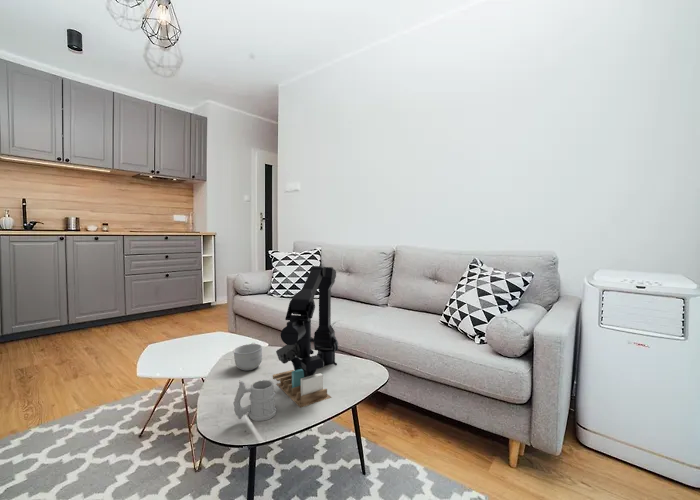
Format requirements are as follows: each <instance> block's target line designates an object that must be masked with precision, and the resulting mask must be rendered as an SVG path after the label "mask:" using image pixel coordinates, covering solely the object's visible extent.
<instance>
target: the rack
mask: <svg viewBox="0 0 700 500" xmlns="http://www.w3.org/2000/svg"><path fill="white" fill-rule="evenodd" d="M276 386H278V388H280V389H281V390H282V392H284V393H285V394H286V395H287V396H288V398H290V399H291V401H293V402H294V403H295V404H296V405H297V406H298V407H299V408H301V409H302V408H303V407H307V406H310V405H313V404H317V403H319V402H322V401H325V400H328V399H332V398H333V397H332V396H331V395H330V394H328V388H323V390H319V391H316V392H313V393H310V394H306V395H303V396H301V386H297V387H294V388H292V375H289V376H285V377H281V378H280V380H279V382H278V383H276Z"/></svg>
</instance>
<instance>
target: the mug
mask: <svg viewBox="0 0 700 500" xmlns="http://www.w3.org/2000/svg"><path fill="white" fill-rule="evenodd" d="M238 383H239V385H238V387H237V391H236V394H235V397H234V400H233V402H232V403H233V409H234V410H233V411H234V415H235V416H237V418H238V419H239V420H241V419H242V418H243V417H244V416H245V415H247V413H248V417H249V419H251V421H255V422H263V421H267V420H270V419H272V418H274V416H276V414H277V408H276V405H275V404H276V402H275V397H276V391H275V388H274V387H275V385H274V382H273V381H272V380H270V379H269V380H268V379H263V380H262V379H261V380H257V381H255V382H253V383H252V384H250V386H249V387H246V384H245V382H244V381H243V380H241V379H240V380H239V381H238ZM247 393H249V397H248V398H249V400H250V404H248V405H246V406H245V407H243V406H242V405H241V400H242V398H243V396H244V395H245V394H247Z"/></svg>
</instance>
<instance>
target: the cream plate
mask: <svg viewBox="0 0 700 500" xmlns="http://www.w3.org/2000/svg"><path fill="white" fill-rule="evenodd" d="M323 376H324V375H323V374H322V373H321V372H319V373H316V374H315V373H314V375H312V376H308V377H304V378H301V396H303V395H306V394H310V393H313V392H316V391H319V390H323V389H324V377H323Z"/></svg>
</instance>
